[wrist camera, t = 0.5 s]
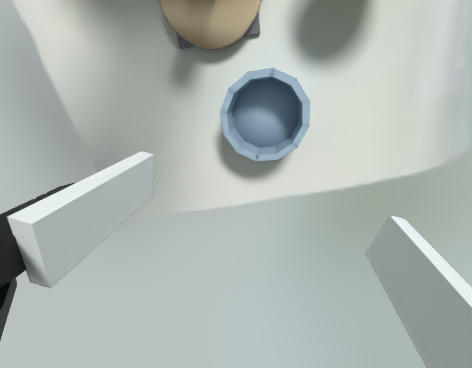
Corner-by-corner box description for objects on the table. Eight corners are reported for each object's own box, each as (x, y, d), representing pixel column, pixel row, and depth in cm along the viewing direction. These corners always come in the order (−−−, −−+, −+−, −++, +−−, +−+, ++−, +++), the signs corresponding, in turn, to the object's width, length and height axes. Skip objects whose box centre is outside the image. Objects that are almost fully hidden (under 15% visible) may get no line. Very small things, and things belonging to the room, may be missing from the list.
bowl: (223, 78, 33) (214, 76, 28) (304, 66, 30) (310, 61, 26) (233, 153, 38) (227, 163, 33) (304, 148, 35) (309, 157, 30)
